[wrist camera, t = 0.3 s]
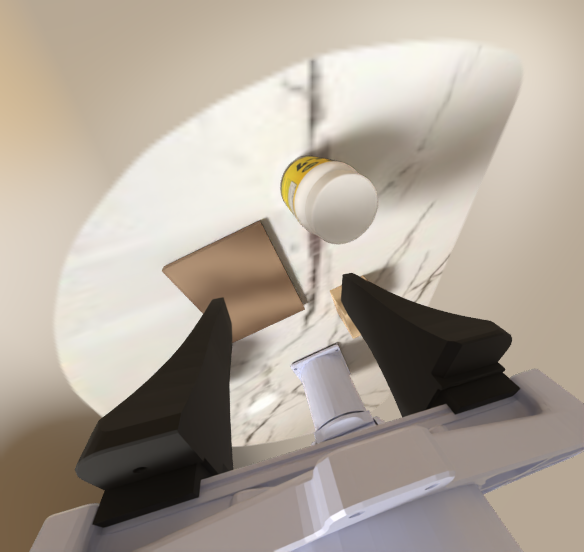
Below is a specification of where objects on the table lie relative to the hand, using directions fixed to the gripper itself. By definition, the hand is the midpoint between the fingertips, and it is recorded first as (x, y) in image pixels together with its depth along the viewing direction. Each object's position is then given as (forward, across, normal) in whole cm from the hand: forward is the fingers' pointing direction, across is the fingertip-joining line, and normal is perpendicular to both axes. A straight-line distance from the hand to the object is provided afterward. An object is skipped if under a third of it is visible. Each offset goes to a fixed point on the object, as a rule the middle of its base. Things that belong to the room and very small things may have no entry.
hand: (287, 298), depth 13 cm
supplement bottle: (+10, -4, -4) cm, 11 cm away
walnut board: (+10, +3, +5) cm, 11 cm away
